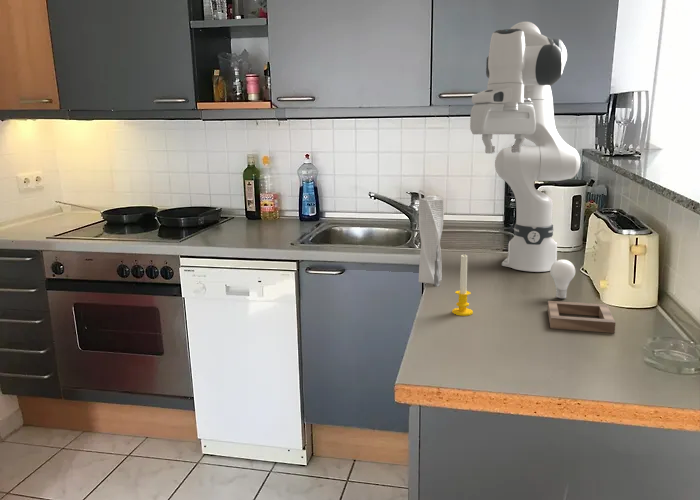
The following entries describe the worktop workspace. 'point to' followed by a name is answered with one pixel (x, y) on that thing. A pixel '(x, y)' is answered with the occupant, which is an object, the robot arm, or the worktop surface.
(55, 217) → the worktop surface
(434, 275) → the skyscraper
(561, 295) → the lightbulb
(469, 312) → the candle
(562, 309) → the rectangular wooden frame
